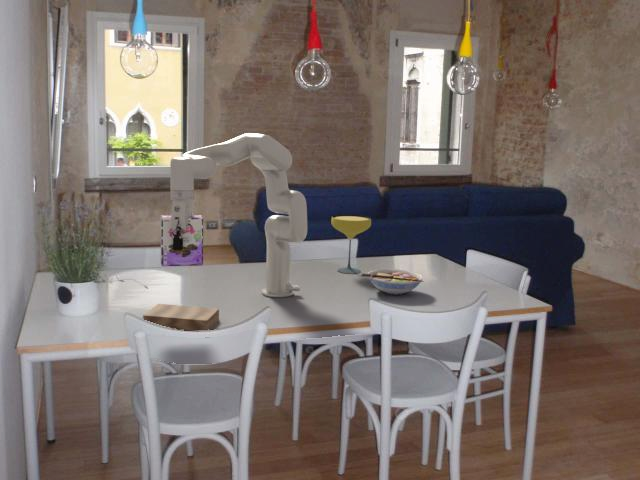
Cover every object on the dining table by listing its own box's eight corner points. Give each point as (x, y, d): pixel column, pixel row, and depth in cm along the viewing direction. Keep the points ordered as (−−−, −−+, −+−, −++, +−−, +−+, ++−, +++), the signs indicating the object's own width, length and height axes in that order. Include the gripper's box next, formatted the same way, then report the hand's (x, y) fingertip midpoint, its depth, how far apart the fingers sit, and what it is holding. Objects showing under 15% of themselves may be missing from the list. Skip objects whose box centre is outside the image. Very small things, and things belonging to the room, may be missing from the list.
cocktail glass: (321, 269, 327) (323, 216, 322) (349, 264, 339) (351, 213, 334) (348, 277, 314) (351, 222, 309) (376, 272, 326) (379, 218, 321)
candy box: (161, 267, 233) (160, 217, 230) (160, 263, 239) (160, 214, 236) (203, 265, 237) (203, 217, 234) (201, 262, 242) (201, 214, 239)
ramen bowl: (427, 289, 300) (429, 270, 298) (420, 303, 278) (421, 283, 277) (370, 283, 306) (371, 264, 305) (358, 296, 285) (359, 276, 283)
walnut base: (218, 319, 247) (219, 308, 247) (207, 332, 234) (207, 320, 233) (158, 314, 250) (158, 303, 249) (143, 326, 237) (143, 315, 236)
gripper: (184, 199, 224) (184, 253, 228) (201, 192, 241) (200, 243, 245) (161, 197, 225) (162, 252, 229) (179, 191, 242) (179, 241, 246)
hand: (182, 247), depth 237 cm, fingers closed on candy box, 7 cm apart
